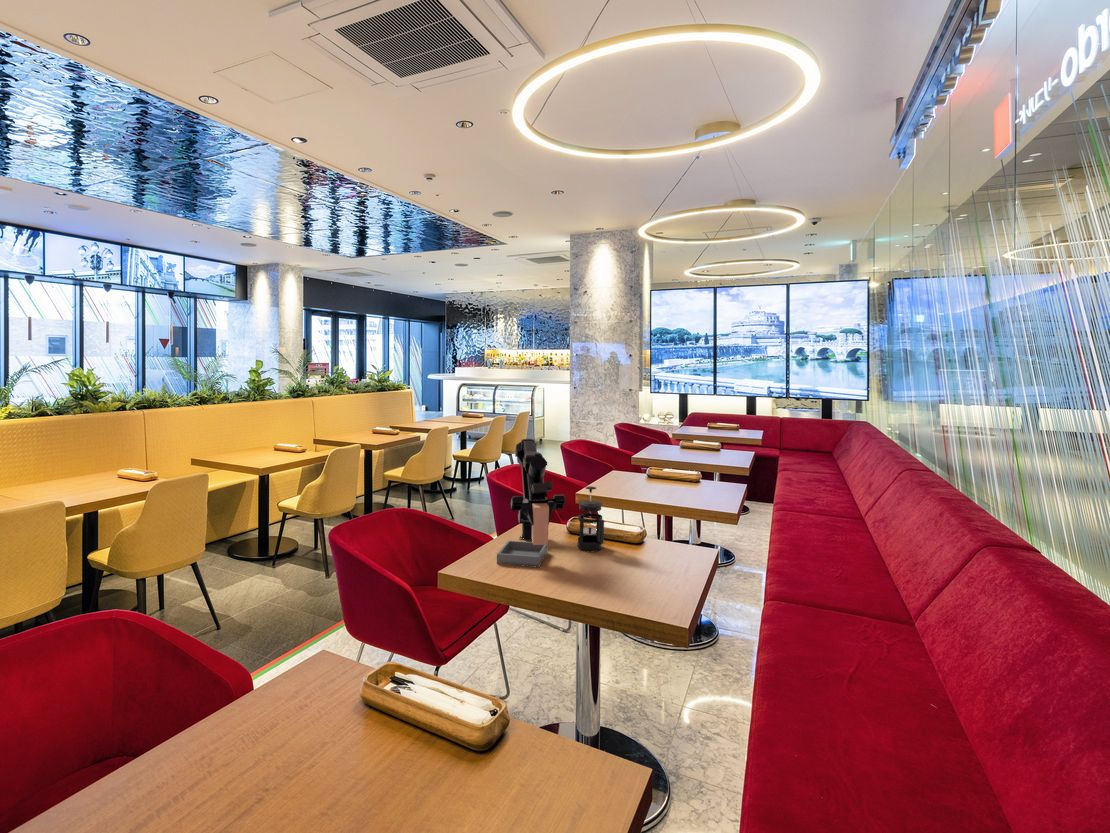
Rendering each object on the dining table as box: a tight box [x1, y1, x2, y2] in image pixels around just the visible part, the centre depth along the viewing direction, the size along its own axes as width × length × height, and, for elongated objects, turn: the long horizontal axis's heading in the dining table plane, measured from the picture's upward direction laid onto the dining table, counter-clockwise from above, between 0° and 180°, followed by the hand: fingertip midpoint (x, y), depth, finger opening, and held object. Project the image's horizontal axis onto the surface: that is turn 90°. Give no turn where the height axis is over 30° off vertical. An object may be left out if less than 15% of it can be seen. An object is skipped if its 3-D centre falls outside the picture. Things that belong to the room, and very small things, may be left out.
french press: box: [576, 485, 605, 553], centre depth 208 cm, size 12×9×23 cm
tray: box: [496, 540, 548, 568], centre depth 198 cm, size 15×15×4 cm
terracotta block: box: [531, 503, 550, 546], centre depth 193 cm, size 5×5×13 cm
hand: (540, 524), depth 191 cm, fingers closed on terracotta block, 5 cm apart
